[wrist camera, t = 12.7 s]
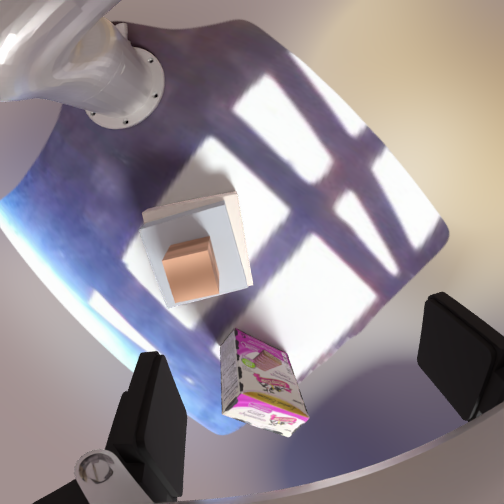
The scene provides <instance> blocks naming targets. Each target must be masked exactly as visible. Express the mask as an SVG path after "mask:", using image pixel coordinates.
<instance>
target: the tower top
mask: <svg viewBox="0 0 504 504" xmlns="http://www.w3.org/2000/svg"><path fill="white" fill-rule="evenodd" d="M139 232H140V235H141V238H142V241H143V244H144V247H145V250H146V253H147V256H148V258H149V261H150V264H151V267H152V269H153V272H154V275H155V277H156V280H157V283H158V285H159V288H160V291H161V293H162V296H163V298H164V301H165V303H166V306H167V308H171V307H175V306H179V305H183V304H187V303H191V302H195V301H199V300H203V299H207V298H210V297H214V296H218V295H222V294H226V293H229V292H233V291H237V290H241V289H244V288H248V285H247V280H246V276H245V272H244V269H243V265H242V262H241V258H240V255H239V251H238V247H237V244H236V240H235V237H234V233H233V229H232V226H231V222H230V219H229V215H228V211H227V208H226V204H225V200H223V201H219V202H216V203H212V204H209V205H205V206H202V207H198V208H195V209H191V210H188V211H184V212H181V213H177V214H174V215H171V216H167V217H164V218H161V219H158V220H154V221H151V222H148V223H146V224H144V225H143V226H142V227H141V228H140V229H139ZM207 236H210V239H211V243H212V247H213V251H214V255H215V259H216V263H217V267H218V270H219V294H216V295H211V296H207V297H202V298H197V299H192V300H188V301H183V302H178V303H175V301H174V298H173V295H172V292H171V289H170V286H169V283H168V280H167V276H166V273H165V270H164V267H163V264H162V259H163V258H164V256H165V254H166V252H167V250H168V248H169V247H170V245H173V244H177V243H181V242H186V241H190V240H194V239H198V238H203V237H207Z"/></svg>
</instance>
